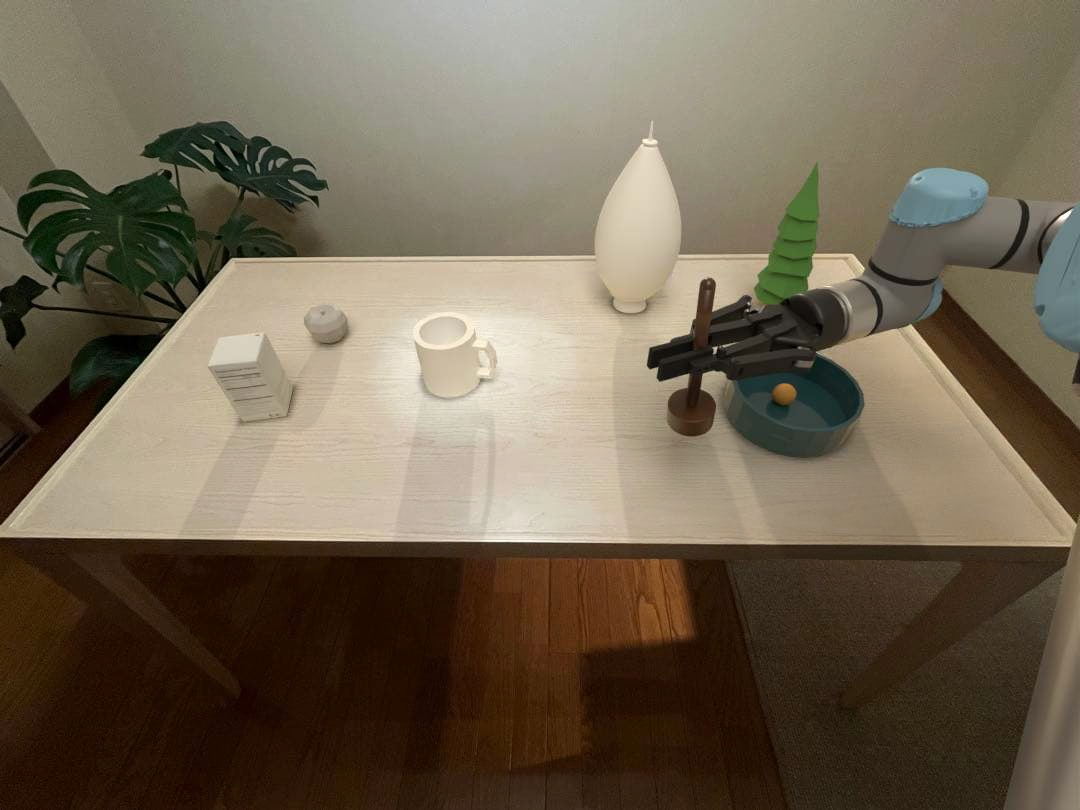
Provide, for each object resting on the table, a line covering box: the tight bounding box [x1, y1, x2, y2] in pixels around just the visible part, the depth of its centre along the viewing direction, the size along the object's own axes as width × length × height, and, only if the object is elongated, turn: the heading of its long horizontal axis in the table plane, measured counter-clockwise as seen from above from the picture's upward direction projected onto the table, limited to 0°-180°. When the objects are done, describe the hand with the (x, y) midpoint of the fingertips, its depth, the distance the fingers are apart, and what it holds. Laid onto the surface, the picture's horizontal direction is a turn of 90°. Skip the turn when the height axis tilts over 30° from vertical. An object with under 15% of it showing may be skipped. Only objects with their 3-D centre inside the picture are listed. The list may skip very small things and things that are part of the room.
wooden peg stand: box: [665, 277, 717, 438], centre depth 61 cm, size 6×6×22 cm
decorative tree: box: [753, 161, 820, 307], centre depth 93 cm, size 10×9×30 cm
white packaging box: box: [206, 331, 294, 423], centre depth 85 cm, size 7×7×13 cm
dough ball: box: [772, 383, 796, 405], centre depth 85 cm, size 4×4×4 cm
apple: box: [303, 303, 349, 344], centre depth 100 cm, size 8×8×7 cm
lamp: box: [594, 120, 682, 314], centre depth 96 cm, size 16×16×35 cm
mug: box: [412, 311, 498, 399], centre depth 89 cm, size 14×10×11 cm
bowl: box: [723, 353, 866, 459], centre depth 84 cm, size 19×20×6 cm
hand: (654, 364), depth 59 cm, fingers closed on wooden peg stand, 2 cm apart
